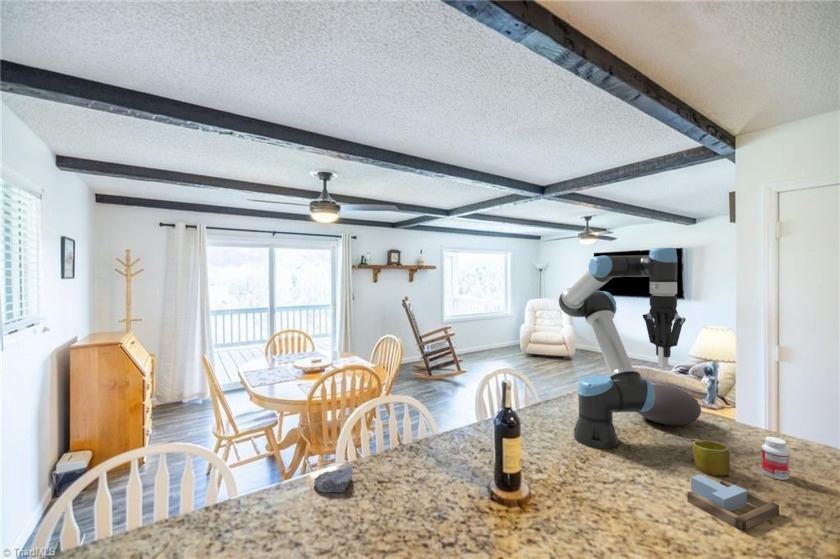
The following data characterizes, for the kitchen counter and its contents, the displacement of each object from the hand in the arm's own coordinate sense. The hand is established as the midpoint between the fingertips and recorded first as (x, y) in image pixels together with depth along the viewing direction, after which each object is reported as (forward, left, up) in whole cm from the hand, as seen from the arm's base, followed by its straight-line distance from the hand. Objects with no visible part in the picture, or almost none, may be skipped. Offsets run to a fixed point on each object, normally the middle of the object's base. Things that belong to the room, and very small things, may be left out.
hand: (663, 366), depth 120 cm
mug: (+7, +11, -33) cm, 35 cm away
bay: (+22, -6, -32) cm, 40 cm away
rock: (-30, -103, -33) cm, 112 cm away
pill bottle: (+18, +25, -33) cm, 45 cm away
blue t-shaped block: (+18, -5, -33) cm, 38 cm away
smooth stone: (-23, +34, -33) cm, 52 cm away
